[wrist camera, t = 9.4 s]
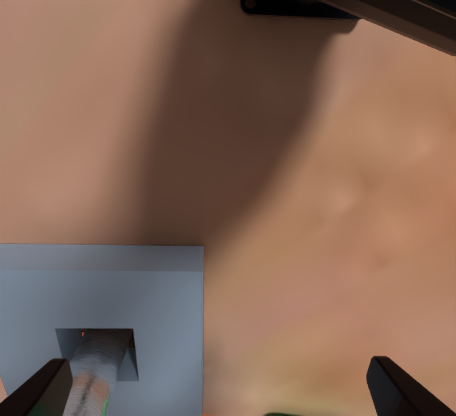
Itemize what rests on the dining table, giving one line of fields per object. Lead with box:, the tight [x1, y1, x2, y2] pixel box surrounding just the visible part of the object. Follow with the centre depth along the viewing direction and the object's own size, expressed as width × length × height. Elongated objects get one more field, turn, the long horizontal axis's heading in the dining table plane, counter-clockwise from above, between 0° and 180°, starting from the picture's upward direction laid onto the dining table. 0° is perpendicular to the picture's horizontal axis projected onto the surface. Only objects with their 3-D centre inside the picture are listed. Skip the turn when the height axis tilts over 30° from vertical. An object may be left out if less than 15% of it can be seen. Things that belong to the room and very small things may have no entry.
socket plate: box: [0, 244, 204, 416], centre depth 22 cm, size 14×14×3 cm
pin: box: [63, 328, 133, 416], centre depth 19 cm, size 3×3×10 cm
